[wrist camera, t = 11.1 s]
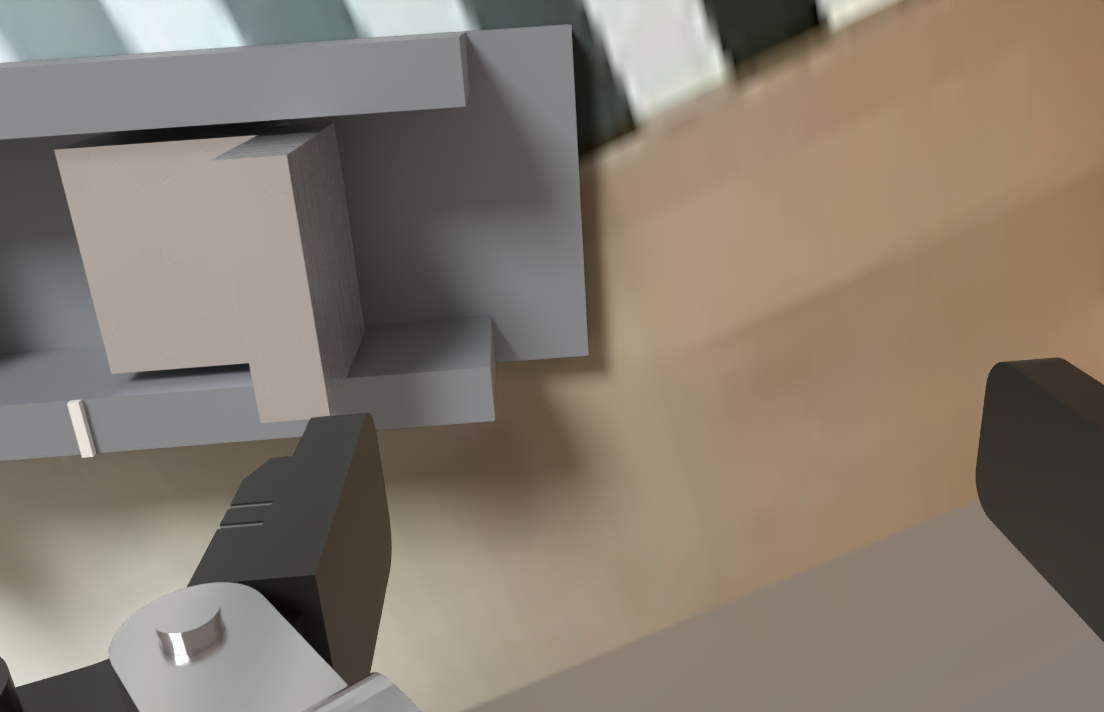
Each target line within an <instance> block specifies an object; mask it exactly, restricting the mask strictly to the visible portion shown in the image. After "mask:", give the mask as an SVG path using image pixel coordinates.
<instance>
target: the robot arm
mask: <svg viewBox="0 0 1104 712" xmlns="http://www.w3.org/2000/svg"><path fill="white" fill-rule="evenodd" d="M976 487H977V492H978V496H979V500H980V502H981V505H982V507H983V510H984V512H985V513H986V515H987V516H988V518H989V519H990V520H991V521H992V522H993V523H994V524H995V525H996V526H997V528H998V529H999V530H1000V531H1001V532H1002V533H1003V534H1004V535H1005V536H1006V537H1007V538H1008V539H1009V541H1010V542H1011V543H1012V544H1013V545H1014V546H1015V547H1016V548H1017V549H1018V550H1019V551H1020V552H1021V553H1022V555H1023V556H1024V557H1025V558H1026V559H1027V560H1028V561H1029V562H1030V563H1031V564H1032V565H1033V566H1034V567H1035V569H1036V570H1037V571H1038V572H1039V573H1040V574H1041V575H1042V576H1043V577H1044V578H1045V579H1046V580H1047V582H1048V583H1049V584H1050V585H1051V586H1052V587H1053V588H1054V589H1055V590H1056V591H1057V592H1058V593H1059V594H1060V595H1061V597H1062V598H1063V599H1064V600H1065V601H1066V602H1067V603H1068V604H1069V605H1070V606H1071V607H1072V608H1073V610H1074V611H1075V612H1076V613H1077V614H1078V615H1079V616H1080V617H1081V618H1082V619H1083V620H1084V621H1085V622H1086V623H1087V625H1088V626H1089V627H1090V628H1091V629H1092V630H1093V631H1094V632H1095V633H1096V634H1097V635H1098V636H1099V638H1100V639H1101V640H1102V641H1103V642H1104V385H1103V384H1101V383H1100V382H1098V381H1097V380H1095V379H1094V378H1092V377H1091V376H1089V375H1088V374H1086V373H1085V372H1083V371H1081V370H1080V369H1078V368H1077V367H1075V366H1074V365H1072V364H1071V363H1069V362H1068V361H1066V360H1064V359H1062V358H1058V357H1057V358H1045V359H1033V360H1020V361H1008V362H999V363H997V364H996V365H995V366H993V368H992V369H991V371H990V373H989V375H988V379H987V383H986V391H985V399H984V407H983V415H982V423H981V431H980V439H979V448H978V456H977V464H976ZM390 566H391V527H390V518H389V512H388V505H387V499H386V492H385V486H384V479H383V473H382V466H381V460H380V453H379V447H378V440H377V434H376V429H375V424H374V421H373V418H372V415H371V414H370V413H359V414H347V415H334V416H322V417H312V418H311V419H310V420H309V422H308V424H307V426H306V429H305V431H304V433H303V435H302V438H301V440H300V442H299V444H298V446H297V449H296V451H295V453H294V455H293V456H291V457H279V458H271V459H269V460H268V461H267V462H266V463H264V464H263V465H262V466H261V467H259V468H258V469H257V470H256V471H254V472H253V473H252V474H251V475H249V476H248V477H247V478H246V479H244V480H243V482H242V484H241V486H240V488H239V490H238V491H237V493H236V495H235V497H234V499H233V501H232V503H231V509H228V510H227V512H226V514H225V516H224V518H223V520H222V522H221V524H220V529H217V531H216V533H215V535H214V537H213V539H212V541H211V542H210V544H209V546H208V548H207V550H206V552H205V554H204V556H203V558H202V559H201V561H200V563H199V565H198V567H197V569H196V571H195V573H194V575H193V577H192V578H191V580H190V582H189V584H188V586H187V588H184V589H181V590H177V591H175V592H172V593H170V594H167V595H165V596H163V597H161V598H159V599H156V600H154V601H153V602H151V603H149V604H148V605H146V606H144V607H143V608H141V609H140V610H138V611H137V612H136V613H134V614H133V615H132V616H131V617H130V618H129V619H127V620H126V621H125V622H124V623H123V624H122V626H121V627H120V628H119V629H118V631H117V632H116V633H115V635H114V637H113V639H112V641H111V644H110V647H109V659H107V660H104V661H102V662H99V663H96V664H93V665H90V666H87V667H84V668H81V669H78V670H74V671H71V672H67V673H64V674H60V675H57V676H54V677H50V678H47V679H43V680H40V681H36V682H33V683H30V684H26V685H23V686H19V687H16V688H15V686H14V683H13V680H12V678H11V675H10V672H9V669H8V667H7V665H6V663H5V661H4V660H3V659H2V658H1V657H0V712H422V711H421V710H420V709H419V708H418V707H417V706H416V705H415V704H414V703H413V702H412V701H411V700H410V699H409V698H408V697H407V696H406V695H405V694H404V693H403V692H402V691H401V690H400V689H399V688H398V687H397V686H396V685H395V684H394V683H393V682H392V681H390V680H389V679H388V678H387V677H385V676H384V675H382V674H379V673H376V672H375V673H370V671H371V666H372V660H373V655H374V650H375V645H376V640H377V635H378V629H379V624H380V619H381V614H382V609H383V603H384V598H385V593H386V588H387V583H388V577H389V572H390Z"/></svg>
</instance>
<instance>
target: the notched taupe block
mask: <svg viewBox="0 0 1104 712" xmlns="http://www.w3.org/2000/svg"><path fill="white" fill-rule="evenodd" d="M54 151H55V155H56V159H57V163H58V167H59V171H60V175H61V179H62V183H63V186H64V190H65V194H66V198H67V202H68V206H69V210H70V214H71V218H72V222H73V225H74V229H75V233H76V237H77V241H78V245H79V249H80V253H81V257H82V261H83V264H84V268H85V272H86V276H87V280H88V284H89V288H90V292H91V296H92V300H93V303H94V307H95V311H96V315H97V319H98V323H99V327H100V331H101V335H102V339H103V343H104V346H105V350H106V354H107V358H108V362H109V366H110V370H111V374H117V373H129V372H142V371H155V370H167V369H180V368H193V367H205V366H218V365H231V364H243V363H249V366H250V372H251V377H252V382H253V387H254V392H255V397H256V402H257V407H258V412H259V417H260V422H261V423H268V422H280V421H292V420H305V419H311V418H312V417H322V416H331V414H332V412H333V410H334V407H335V405H336V402H337V400H338V397H339V395H340V392H341V390H342V387H343V385H344V382H345V380H346V378H347V375H348V373H349V370H350V368H351V365H352V363H353V360H354V358H355V355H356V353H357V350H358V348H359V346H360V343H361V341H362V338H363V336H364V333H365V327H364V320H363V313H362V306H361V300H360V293H359V286H358V279H357V272H356V265H355V258H354V251H353V245H352V238H351V231H350V224H349V217H348V210H347V203H346V196H345V189H344V183H343V176H342V169H341V162H340V155H339V148H338V141H337V134H336V128H335V122H325V123H311V124H297V125H289V120H288V119H283V120H269V121H255V122H241V123H227V124H212V125H198V126H184V127H170V128H156V129H142V130H128V131H114V132H108V133H105V134H102V135H99V136H96V137H93V138H89V139H86V140H83V141H80V142H77V143H74V144H71V145H67V146H64V147H61V148H58V149H55V150H54Z"/></svg>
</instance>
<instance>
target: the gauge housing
mask: <svg viewBox="0 0 1104 712" xmlns="http://www.w3.org/2000/svg"><path fill="white" fill-rule="evenodd" d="M283 119H288V120H289V125H297V124H311V123H325V122H335V128H336V134H337V141H338V148H339V155H340V162H341V169H342V176H343V183H344V189H345V196H346V203H347V210H348V217H349V224H350V231H351V238H352V245H353V251H354V258H355V265H356V272H357V279H358V286H359V293H360V300H361V306H362V313H363V320H364V327H365V333H364V336H363V338H362V341H361V343H360V346H359V348H358V350H357V353H356V355H355V358H354V360H353V363H352V365H351V368H350V370H349V373H348V375H347V378H346V380H345V382H344V385H343V387H342V390H341V392H340V395H339V397H338V400H337V402H336V405H335V407H334V410H333V412H332V414H331V416H334V415H347V414H359V413H370V414H371V415H372V418H373V421H374V424H375V429H376V431H377V430H389V429H401V428H414V427H426V426H438V425H450V424H463V423H475V422H487V421H495V363H500V362H512V361H525V360H537V359H550V358H562V357H575V356H587V355H589V354H588V334H587V315H586V296H585V277H584V258H583V239H582V219H581V200H580V181H579V162H578V143H577V124H576V104H575V85H574V66H573V47H572V28H571V25H569V24H565V25H550V26H536V27H521V28H507V29H492V30H477V31H463V32H448V33H433V34H419V35H404V36H390V37H375V38H360V39H346V40H331V41H316V42H302V43H287V44H273V45H258V46H243V47H229V48H214V49H199V50H185V51H170V52H156V53H141V54H126V55H112V56H97V57H82V58H68V59H53V60H39V61H24V62H9V63H0V461H9V460H22V459H34V458H46V457H58V456H71V455H81V456H82V458H85V457H94V455H95V454H96V453H107V452H120V451H132V450H144V449H156V448H169V447H181V446H193V445H205V444H218V443H230V442H242V441H254V440H267V439H279V438H291V437H302V435H303V433H304V431H305V429H306V426H307V424H308V422H309V420H310V419H305V420H292V421H280V422H268V423H261V422H260V417H259V412H258V407H257V402H256V397H255V392H254V387H253V382H252V377H251V372H250V366H249V363H243V364H231V365H218V366H205V367H193V368H180V369H167V370H155V371H142V372H129V373H117V374H111V370H110V366H109V362H108V358H107V354H106V350H105V346H104V343H103V339H102V335H101V331H100V327H99V323H98V319H97V315H96V311H95V307H94V303H93V300H92V296H91V292H90V288H89V284H88V280H87V276H86V272H85V268H84V264H83V261H82V257H81V253H80V249H79V245H78V241H77V237H76V233H75V229H74V225H73V222H72V218H71V214H70V210H69V206H68V202H67V198H66V194H65V190H64V186H63V183H62V179H61V175H60V171H59V167H58V163H57V159H56V155H55V151H54V150H55V149H58V148H61V147H64V146H67V145H71V144H74V143H77V142H80V141H83V140H86V139H89V138H93V137H96V136H99V135H102V134H105V133H108V132H114V131H128V130H142V129H156V128H170V127H184V126H198V125H212V124H227V123H241V122H255V121H269V120H283Z"/></svg>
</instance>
